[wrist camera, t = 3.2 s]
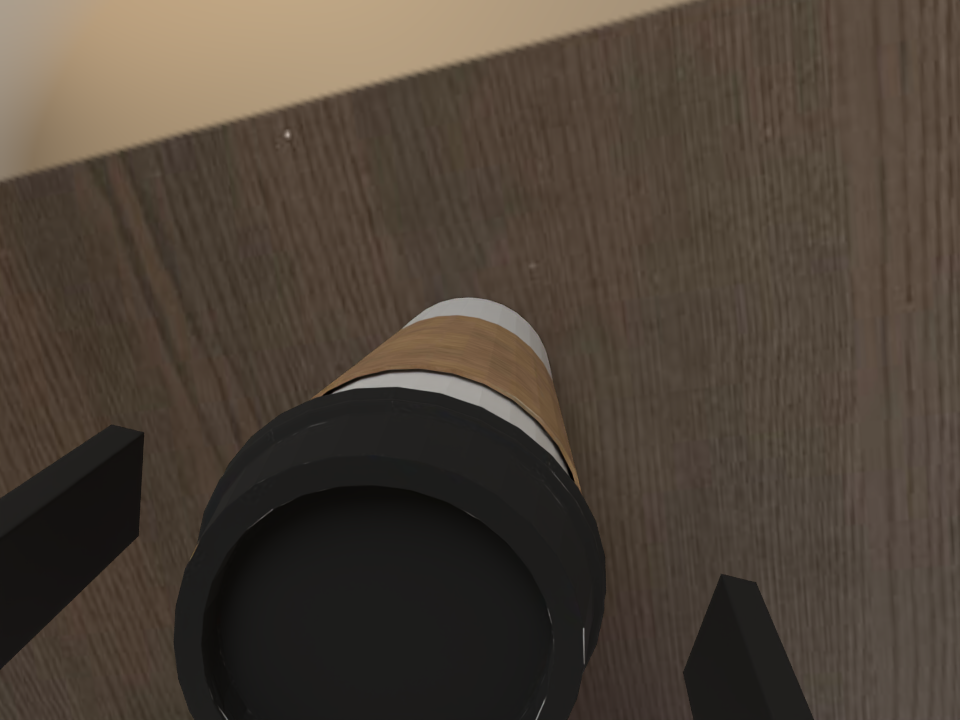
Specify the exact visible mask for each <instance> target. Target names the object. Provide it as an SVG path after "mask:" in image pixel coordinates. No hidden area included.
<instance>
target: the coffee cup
mask: <svg viewBox="0 0 960 720" xmlns="http://www.w3.org/2000/svg"><path fill="white" fill-rule="evenodd" d="M605 594H606V571H605V554H604V551H603V547H602V543H601V539H600V535H599V531H598V527H597V524H596V521H595V519H594V517H593V515H592V513H591V511H590V509H589V507H588V505H587V503H586V501H585V499H584V497H583V496H582V492H581V488H580V484H579V480H578V476H577V473H576V469H575V465H574V461H573V457H572V453H571V449H570V445H569V442H568V438H567V434H566V430H565V426H564V422H563V418H562V414H561V411H560V407H559V403H558V399H557V395H556V391H555V387H554V384H553V379H552V374H551V369H550V364H549V361H548V357H547V353H546V350H545V348H544V346H543V344H542V342H541V340H540V338H539V336H538V334H537V333H536V332H535V331H534V329H533V328H532V327H531V326H530V324H529V323H528V322H527V321H525V320H524V319H523V318H522V317H521V316H520V315H519V314H517V313H516V312H514V311H513V310H511V309H509V308H507V307H506V306H504V305H502V304H499V303H496V302H493V301H490V300H486V299H479V298H455V299H451V300H447V301H443V302H440V303H438V304H436V305H434V306H432V307H430V308H427V309H426V310H424V311H423V312H422V313H420V314H419V315H418V316H416V317H415V318H414V319H413V320H411V321H410V322H409V323H408V324H407V325H406V326H404V327H403V328H402V329H401V330H400V331H398V332H397V333H396V334H395V335H393V336H392V337H391V338H389V339H388V340H387V341H385V342H384V343H383V344H382V345H380V346H379V347H378V348H376V349H375V350H374V351H373V352H371V353H370V354H369V355H367V356H366V357H365V358H363V359H362V360H361V361H360V362H358V363H357V364H356V365H354V366H353V367H352V368H350V369H349V370H348V371H347V372H345V373H344V374H343V375H341V376H340V377H339V378H338V379H336V380H335V381H334V382H332V383H331V384H330V385H328V386H327V387H326V388H325V389H323V390H322V391H321V392H319V393H318V394H317V395H316V396H314V397H313V398H312V399H310V400H309V401H307V402H305V403H303V404H301V405H299V406H297V407H294V408H292V409H290V410H288V411H286V412H284V413H282V414H280V415H279V416H277V417H276V418H275V419H273V420H272V421H271V422H270V423H268V424H267V425H266V426H264V427H263V428H262V429H261V430H259V431H258V432H257V433H255V434H254V435H253V436H251V438H250V439H249V440H248V441H247V442H246V444H245V445H244V446H243V447H242V448H241V450H240V451H239V452H238V453H237V455H236V456H235V457H234V458H233V459H232V461H231V462H230V463H229V465H228V467H227V469H226V471H225V473H224V475H223V476H222V477H221V478H220V480H219V482H218V484H217V486H216V488H215V490H214V492H213V494H212V496H211V498H210V500H209V503H208V505H207V507H206V509H205V511H204V514H203V519H202V524H201V528H200V533H199V538H198V543H197V546H196V548H195V550H194V552H193V554H192V556H191V558H190V560H189V562H188V564H187V566H186V568H185V571H184V575H183V579H182V583H181V587H180V591H179V595H178V599H177V603H176V610H175V627H174V650H175V657H176V665H177V673H178V679H179V682H180V685H181V688H182V691H183V694H184V697H185V700H186V703H187V706H188V709H189V711H190V713H191V715H192V716H193V718H194V720H567V719H568V717H569V715H570V713H571V711H572V708H573V706H574V704H575V702H576V700H577V696H578V692H579V687H580V683H581V678H582V674H583V672H584V670H585V668H586V666H587V664H588V661H589V659H590V657H591V655H592V653H593V651H594V649H595V647H596V645H597V641H598V636H599V631H600V627H601V622H602V618H603V613H604V599H605Z"/></svg>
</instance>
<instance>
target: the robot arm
mask: <svg viewBox="0 0 960 720" xmlns="http://www.w3.org/2000/svg"><path fill="white" fill-rule="evenodd" d="M143 445H144V432H140V431H136V430H132V429H128V428H124V427H119V426H115V425H110V426H109V427H107V428H106V429H104V430H103V431H101V432H100V433H98V434H97V435H95V436H94V437H92V438H91V439H89V440H88V441H86V442H85V443H83V444H82V445H80V446H79V447H77V448H76V449H74V450H73V451H71V452H69V453H68V454H66V455H65V456H63V457H62V458H60V459H59V460H57V461H56V462H54V463H53V464H51V465H50V466H48V467H47V468H45V469H44V470H42V471H41V472H39V473H38V474H36V475H35V476H33V477H32V478H30V479H29V480H27V481H26V482H24V483H23V484H21V485H20V486H18V487H17V488H15V489H14V490H12V491H11V492H9V493H8V494H6V495H5V496H3V497H2V498H0V669H1V668H2V667H3V666H4V665H6V664H7V663H8V662H9V661H10V660H11V659H12V658H13V657H14V656H15V655H16V654H17V653H18V652H19V651H20V650H21V649H22V648H23V647H24V646H25V645H26V644H27V643H28V642H29V641H30V640H31V639H32V638H33V637H34V636H35V635H37V634H38V633H39V632H40V631H41V630H42V629H43V628H44V627H45V626H46V625H47V624H48V623H49V622H50V621H51V620H52V619H53V618H54V617H55V616H56V615H57V614H58V613H59V612H60V611H61V610H62V609H63V608H64V607H65V606H67V605H68V604H69V603H70V602H71V601H72V600H73V599H74V598H75V597H76V596H77V595H78V594H79V593H80V592H81V591H82V590H83V589H84V588H85V587H86V586H87V585H88V584H89V583H90V582H91V581H92V580H93V579H94V578H95V577H96V576H98V575H99V574H100V573H101V572H102V571H103V570H104V569H105V568H106V567H107V566H108V565H109V564H110V563H111V562H112V561H113V560H114V559H115V558H116V557H117V556H118V555H119V554H120V553H121V552H122V551H123V550H124V549H125V548H126V547H127V546H129V545H130V544H131V543H132V542H133V541H134V540H135V539H136V538H137V537H138V536H139V519H140V500H141V482H142V463H143ZM683 674H684V679H685V683H686V688H687V692H688V697H689V701H690V706H691V711H692V715H693V720H814V719H813V716H812V714H811V711H810V709H809V707H808V704H807V702H806V700H805V697H804V695H803V692H802V690H801V688H800V685H799V683H798V681H797V678H796V676H795V674H794V671H793V669H792V666H791V664H790V662H789V659H788V657H787V655H786V652H785V650H784V647H783V645H782V643H781V640H780V638H779V636H778V633H777V631H776V629H775V626H774V624H773V621H772V619H771V617H770V614H769V612H768V610H767V607H766V605H765V602H764V600H763V598H762V595H761V593H760V591H759V588H758V586H757V584H756V582H752V581H748V580H744V579H740V578H736V577H732V576H728V575H723V574H721V576H720V578H719V581H718V584H717V586H716V589H715V591H714V594H713V597H712V599H711V602H710V604H709V607H708V609H707V612H706V615H705V617H704V620H703V622H702V625H701V628H700V630H699V633H698V635H697V638H696V640H695V643H694V646H693V648H692V651H691V653H690V656H689V659H688V661H687V664H686V666H685V669H684V671H683Z"/></svg>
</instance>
